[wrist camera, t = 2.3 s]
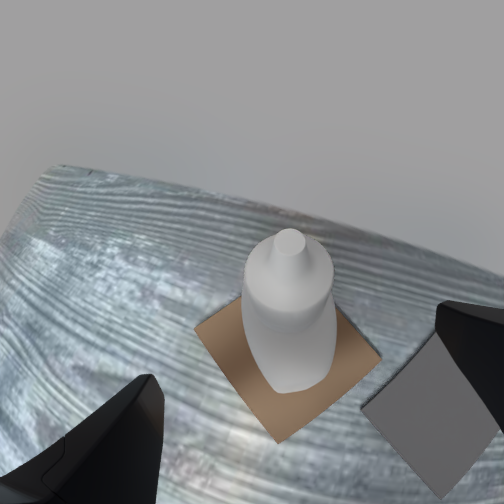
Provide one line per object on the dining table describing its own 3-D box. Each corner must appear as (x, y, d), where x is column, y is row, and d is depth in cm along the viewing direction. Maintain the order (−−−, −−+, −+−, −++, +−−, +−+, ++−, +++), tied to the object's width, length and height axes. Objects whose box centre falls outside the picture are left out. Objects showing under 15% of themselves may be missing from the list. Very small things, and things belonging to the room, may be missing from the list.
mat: (519, 392, 12) (522, 391, 12) (439, 498, 10) (441, 499, 10) (454, 306, 17) (456, 304, 16) (360, 409, 14) (361, 409, 14)
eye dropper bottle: (235, 377, 16) (145, 322, 6) (269, 295, 18) (247, 144, 8) (305, 402, 15) (350, 400, 5) (335, 316, 17) (396, 179, 7)
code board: (380, 360, 16) (382, 359, 15) (278, 443, 14) (278, 444, 14) (292, 261, 20) (292, 259, 20) (194, 330, 18) (193, 328, 18)
